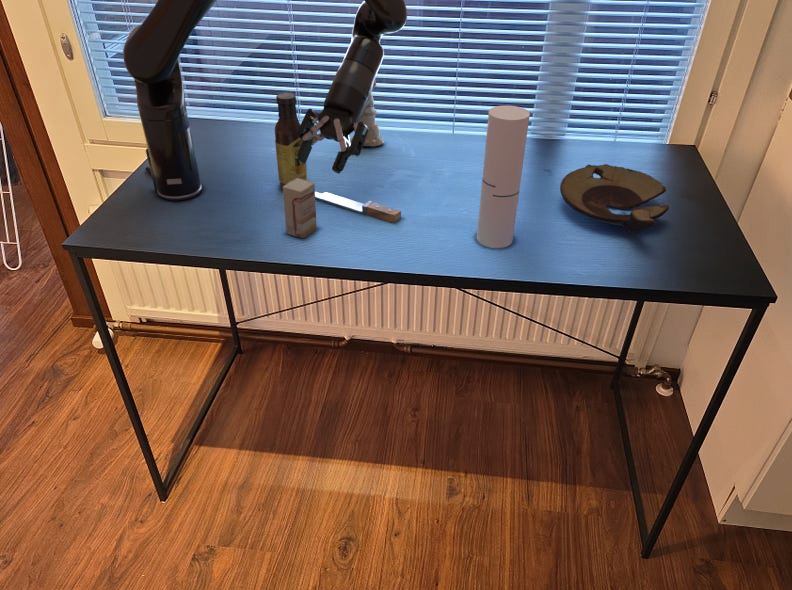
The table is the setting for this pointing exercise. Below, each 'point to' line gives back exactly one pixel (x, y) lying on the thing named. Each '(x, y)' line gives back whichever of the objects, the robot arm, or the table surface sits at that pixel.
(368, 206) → the knife
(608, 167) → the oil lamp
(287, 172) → the sauce bottle
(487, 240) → the cylindrical container
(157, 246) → the table surface
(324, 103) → the robot arm
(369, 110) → the figurine
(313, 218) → the tan rectangular box
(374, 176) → the table surface
